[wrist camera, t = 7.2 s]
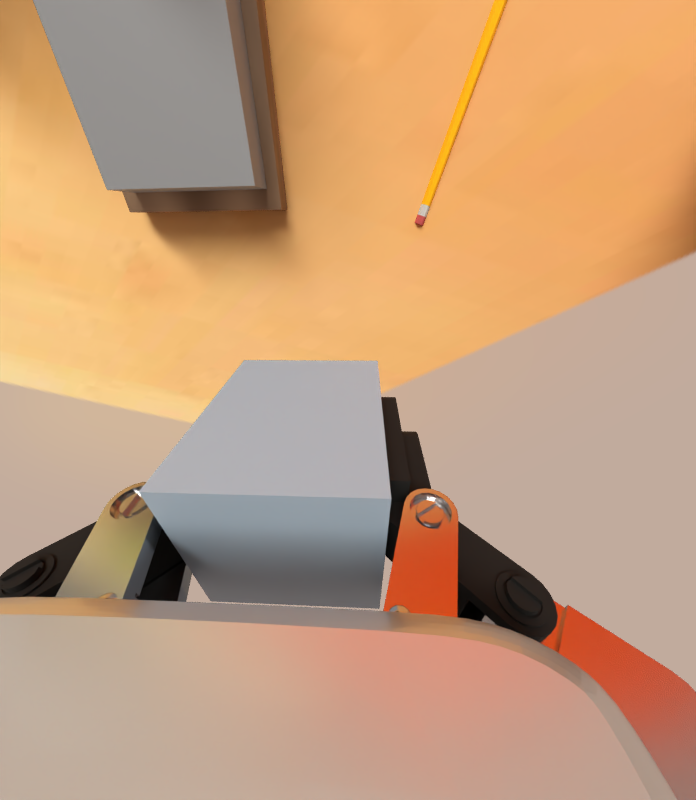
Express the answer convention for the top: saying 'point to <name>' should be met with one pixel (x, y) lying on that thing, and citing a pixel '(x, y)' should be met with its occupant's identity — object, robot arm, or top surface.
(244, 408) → the slate block
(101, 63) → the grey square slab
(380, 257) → the top surface
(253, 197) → the walnut base slab
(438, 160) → the pencil
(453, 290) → the top surface
